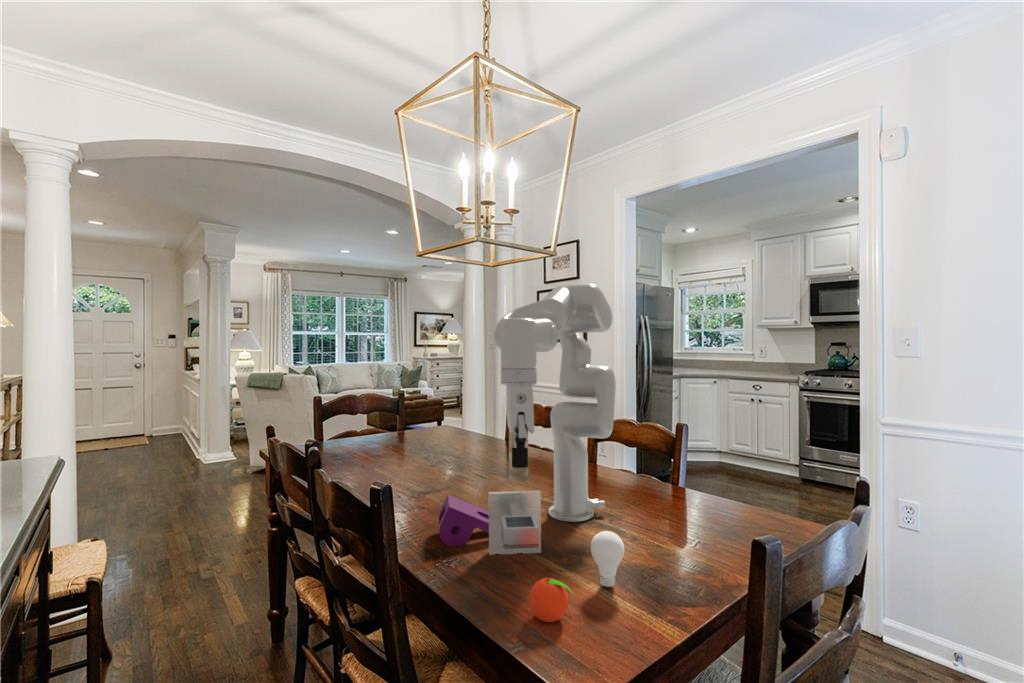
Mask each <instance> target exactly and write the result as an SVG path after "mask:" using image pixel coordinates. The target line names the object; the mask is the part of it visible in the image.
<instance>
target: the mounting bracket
mask: <svg viewBox="0 0 1024 683" xmlns="http://www.w3.org/2000/svg"><path fill="white" fill-rule="evenodd" d="M438 523H439V524H438V525H439V526H438V528H439V529H438V531H439V537H440V539H441V541H442V542H443V543H444V544H445V545H447V546H449V547H454V546H455V547H457V545H458V546H462V545H465V544H467V542H468V541H469V540H470V539H471V536H472V534H473V532H474V530H475V529H478V530H480V531H481V530H482V531H484V532H486V533H488V534H489V510H486V509H483V508H481V507H479V506H476V505H474V504H471V503H469V502H467V501H465V500H463V499H459V498H458V497H455V496H452V495H450V494H447V495H446V497H445V499H444V501H443V504H442V506H441V508H440V511H439V514H438Z"/></svg>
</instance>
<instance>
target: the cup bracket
mask: <svg viewBox="0 0 1024 683" xmlns="http://www.w3.org/2000/svg"><path fill="white" fill-rule="evenodd" d="M488 512H489V533H488V554H489V556H494V555H495V554H500V555H518V554H517V553H523V554H541V553H542V492H541V490H540V489H539V490H515V491H514V490H513V491H488ZM495 556H496V555H495Z"/></svg>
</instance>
